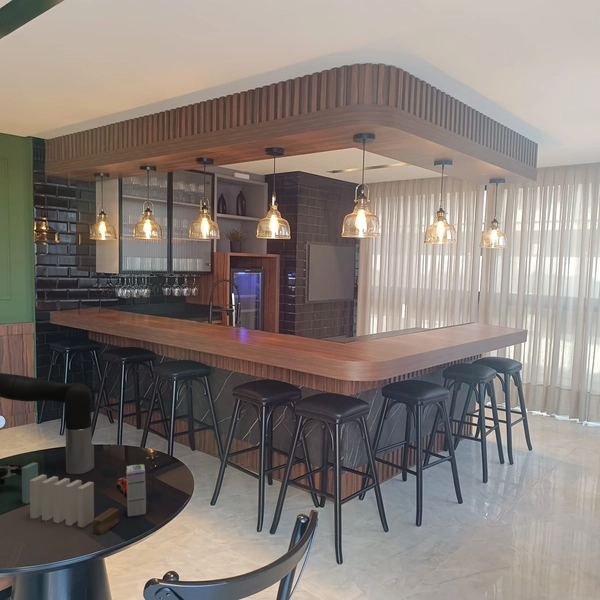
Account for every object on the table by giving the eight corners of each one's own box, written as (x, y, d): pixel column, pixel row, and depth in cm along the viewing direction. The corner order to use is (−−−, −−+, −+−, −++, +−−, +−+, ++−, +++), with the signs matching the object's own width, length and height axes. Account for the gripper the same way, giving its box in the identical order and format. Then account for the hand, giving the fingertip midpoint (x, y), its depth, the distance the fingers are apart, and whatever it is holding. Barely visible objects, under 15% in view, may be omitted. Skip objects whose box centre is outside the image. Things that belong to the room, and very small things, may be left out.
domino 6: (77, 526, 153) (77, 488, 152) (89, 519, 157) (88, 481, 157) (82, 527, 152) (82, 488, 152) (94, 520, 157) (93, 482, 156)
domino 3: (41, 520, 157) (41, 482, 156) (54, 513, 161) (53, 476, 161) (46, 521, 156) (46, 483, 155) (58, 513, 161) (58, 476, 160)
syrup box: (146, 514, 161) (146, 469, 160) (126, 517, 159) (126, 472, 158) (145, 506, 166) (145, 463, 166) (126, 509, 164) (126, 465, 164)
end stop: (93, 532, 149) (93, 519, 149) (110, 520, 157) (110, 507, 157) (101, 534, 148) (101, 521, 148) (119, 521, 156) (118, 509, 156)
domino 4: (53, 522, 155) (53, 484, 155) (65, 515, 160) (65, 477, 159) (58, 523, 155) (57, 484, 154) (70, 515, 159) (69, 478, 159)
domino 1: (22, 502, 168) (21, 467, 168) (34, 496, 173) (33, 462, 172) (26, 503, 168) (26, 468, 167) (38, 497, 172) (37, 462, 172)
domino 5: (65, 524, 154) (65, 486, 153) (77, 517, 159) (76, 479, 158) (70, 525, 153) (70, 486, 153) (82, 518, 158) (81, 480, 158)
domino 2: (30, 518, 158) (29, 480, 157) (42, 510, 163) (42, 474, 162) (34, 518, 157) (34, 481, 157) (47, 511, 162) (46, 475, 162)
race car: (142, 496, 175) (142, 484, 175) (127, 500, 172) (127, 488, 172) (130, 483, 186) (130, 472, 185) (115, 486, 182) (115, 475, 182)
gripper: (-41, 468, 170) (-4, 474, 165) (-4, 454, 183) (31, 459, 178) (-41, 490, 170) (-3, 496, 165) (-4, 474, 184) (31, 480, 179)
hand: (14, 477), depth 172 cm, fingers open, 8 cm apart
